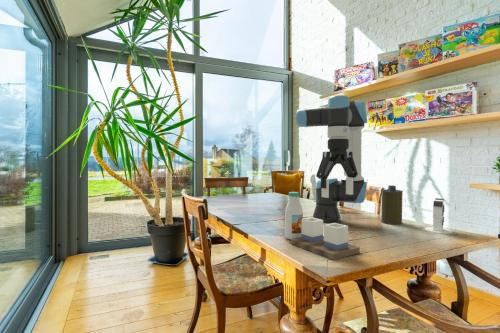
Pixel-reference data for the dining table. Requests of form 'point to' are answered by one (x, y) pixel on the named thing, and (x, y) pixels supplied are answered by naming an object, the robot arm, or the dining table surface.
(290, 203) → the milk bottle
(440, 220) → the light grey upright piece
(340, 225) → the white sleeve
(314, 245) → the pin board
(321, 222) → the seated sleeve
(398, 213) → the canister
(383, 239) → the dining table surface
